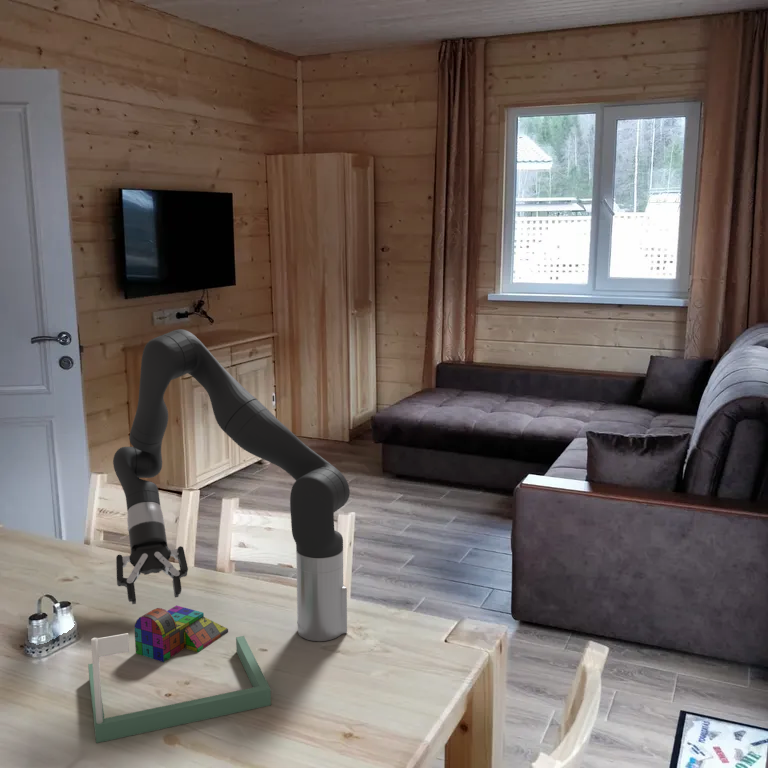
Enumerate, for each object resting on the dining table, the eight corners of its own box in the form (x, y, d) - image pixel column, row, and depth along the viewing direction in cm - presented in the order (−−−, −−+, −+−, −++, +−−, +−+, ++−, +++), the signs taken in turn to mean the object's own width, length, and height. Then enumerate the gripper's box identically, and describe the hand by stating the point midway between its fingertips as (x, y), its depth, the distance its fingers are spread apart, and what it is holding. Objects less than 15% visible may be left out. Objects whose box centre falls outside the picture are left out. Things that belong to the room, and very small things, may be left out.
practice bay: (244, 650, 157) (241, 566, 154) (270, 705, 139) (268, 611, 136) (89, 679, 146) (83, 590, 143) (96, 743, 128) (89, 642, 125)
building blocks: (177, 667, 151) (175, 624, 150) (135, 654, 156) (133, 612, 154) (228, 632, 164) (226, 593, 163) (188, 621, 169) (186, 583, 167)
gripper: (112, 524, 171) (119, 598, 163) (181, 515, 176) (192, 586, 168) (111, 540, 177) (119, 612, 168) (178, 531, 182) (189, 600, 174)
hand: (155, 599), depth 168 cm, fingers open, 8 cm apart
